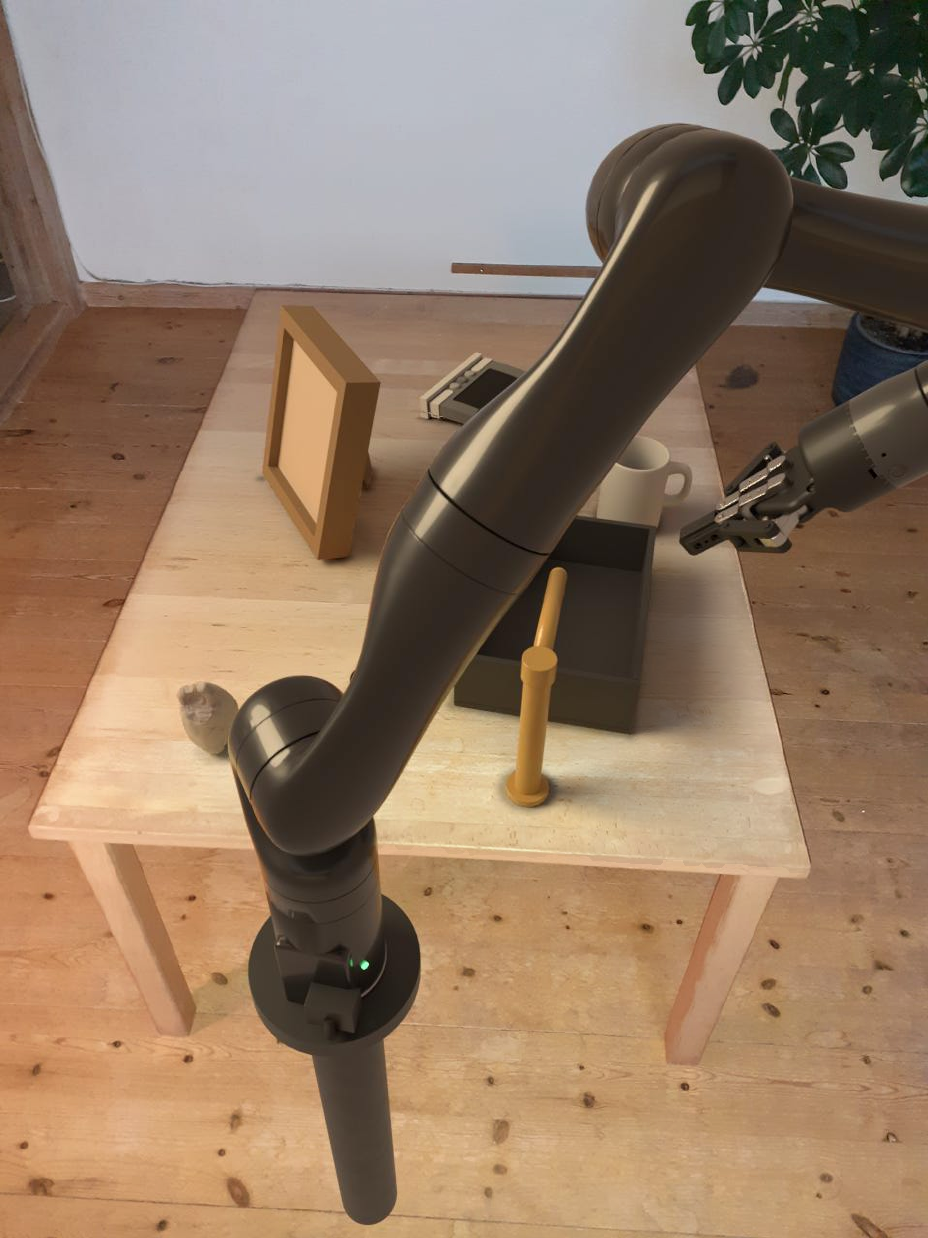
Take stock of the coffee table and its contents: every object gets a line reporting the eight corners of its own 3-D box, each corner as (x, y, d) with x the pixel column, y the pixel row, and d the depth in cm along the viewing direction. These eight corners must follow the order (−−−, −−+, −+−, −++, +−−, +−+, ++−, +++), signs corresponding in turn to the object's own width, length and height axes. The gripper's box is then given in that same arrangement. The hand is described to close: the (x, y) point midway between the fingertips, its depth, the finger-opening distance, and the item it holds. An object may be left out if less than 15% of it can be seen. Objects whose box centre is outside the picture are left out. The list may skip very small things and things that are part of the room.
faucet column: (545, 810, 99) (558, 699, 88) (502, 802, 100) (510, 691, 88) (551, 776, 102) (564, 665, 91) (509, 769, 103) (518, 657, 92)
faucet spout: (550, 709, 90) (555, 673, 86) (516, 703, 90) (519, 667, 87) (572, 596, 101) (576, 561, 98) (541, 591, 102) (545, 556, 98)
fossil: (242, 727, 106) (228, 663, 100) (248, 751, 104) (235, 686, 97) (188, 742, 105) (170, 677, 98) (193, 766, 102) (176, 701, 96)
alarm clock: (475, 352, 162) (564, 371, 155) (476, 377, 165) (564, 397, 158) (419, 397, 151) (512, 420, 144) (422, 424, 154) (513, 448, 147)
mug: (600, 539, 131) (609, 471, 124) (592, 501, 138) (601, 434, 130) (689, 539, 132) (704, 471, 124) (677, 502, 138) (691, 434, 130)
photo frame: (318, 566, 126) (299, 393, 109) (262, 478, 140) (238, 313, 123) (422, 534, 132) (419, 365, 115) (358, 453, 146) (347, 291, 129)
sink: (630, 734, 107) (640, 685, 101) (453, 705, 109) (454, 656, 104) (647, 574, 126) (656, 525, 121) (497, 552, 129) (500, 504, 124)
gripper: (849, 361, 76) (665, 469, 86) (857, 453, 67) (650, 562, 77) (898, 430, 79) (715, 527, 89) (913, 527, 69) (706, 623, 80)
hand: (685, 543), depth 83 cm, fingers closed
